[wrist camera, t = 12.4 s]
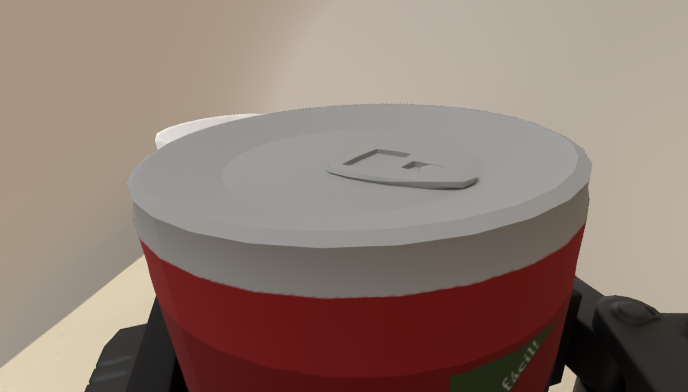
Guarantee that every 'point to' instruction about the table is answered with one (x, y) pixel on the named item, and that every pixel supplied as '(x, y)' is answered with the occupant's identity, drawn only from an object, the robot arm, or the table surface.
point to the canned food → (364, 249)
